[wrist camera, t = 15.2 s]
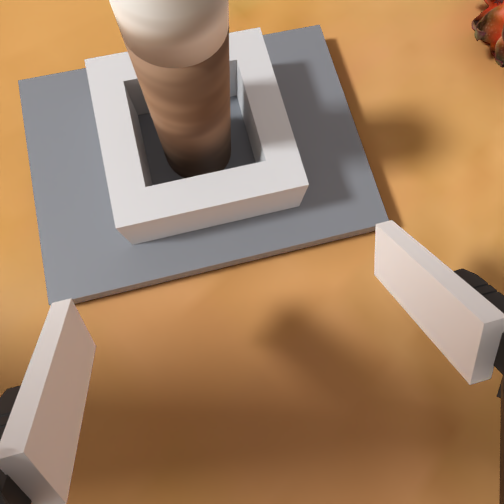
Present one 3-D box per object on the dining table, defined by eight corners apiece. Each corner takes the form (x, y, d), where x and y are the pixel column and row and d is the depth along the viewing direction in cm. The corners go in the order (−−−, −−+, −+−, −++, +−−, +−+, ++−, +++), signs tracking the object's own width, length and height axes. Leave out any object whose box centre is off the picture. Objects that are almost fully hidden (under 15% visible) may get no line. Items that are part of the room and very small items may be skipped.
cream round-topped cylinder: (173, 186, 25) (111, 28, 13) (159, 128, 26) (90, -73, 14) (238, 172, 26) (241, 5, 13) (222, 115, 27) (211, -91, 14)
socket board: (59, 307, 25) (16, 298, 20) (29, 94, 28) (-14, 41, 23) (381, 229, 27) (413, 203, 22) (315, 40, 30) (330, -19, 25)
